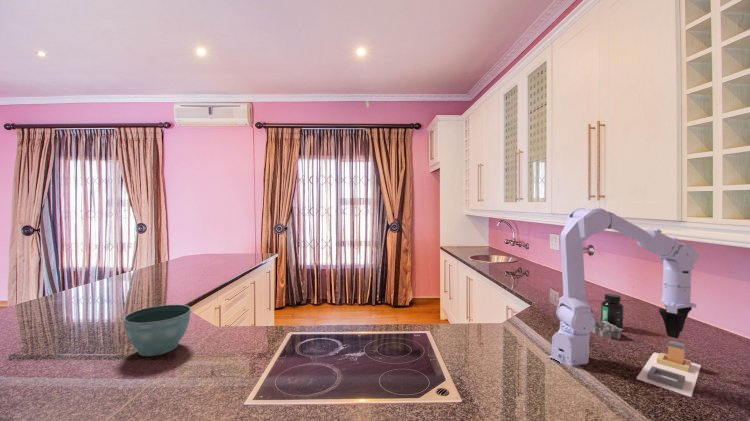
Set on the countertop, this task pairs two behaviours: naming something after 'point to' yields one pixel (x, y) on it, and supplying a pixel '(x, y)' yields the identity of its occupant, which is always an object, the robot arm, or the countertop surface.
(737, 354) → the countertop surface
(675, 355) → the peg
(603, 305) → the supplement bottle
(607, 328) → the egg carton
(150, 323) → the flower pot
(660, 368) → the socket board
